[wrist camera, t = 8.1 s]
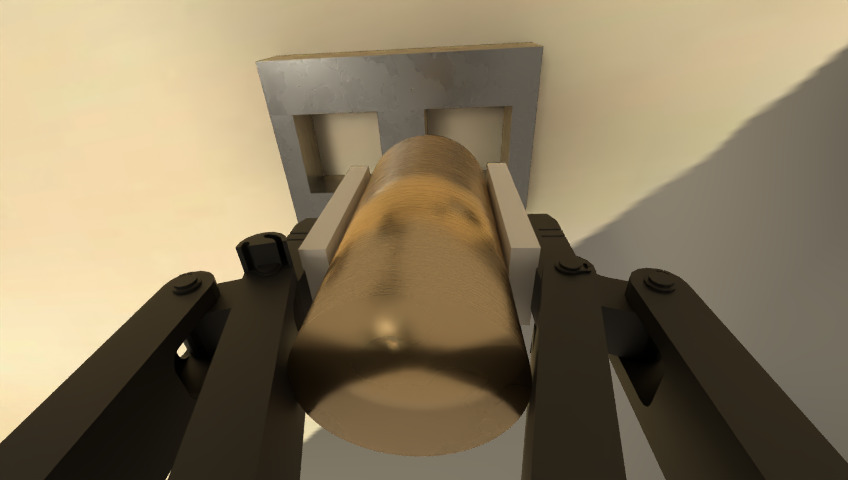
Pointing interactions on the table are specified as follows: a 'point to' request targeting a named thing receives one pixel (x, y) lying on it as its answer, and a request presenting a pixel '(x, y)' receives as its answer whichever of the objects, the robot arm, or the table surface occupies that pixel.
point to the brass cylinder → (415, 314)
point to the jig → (397, 103)
